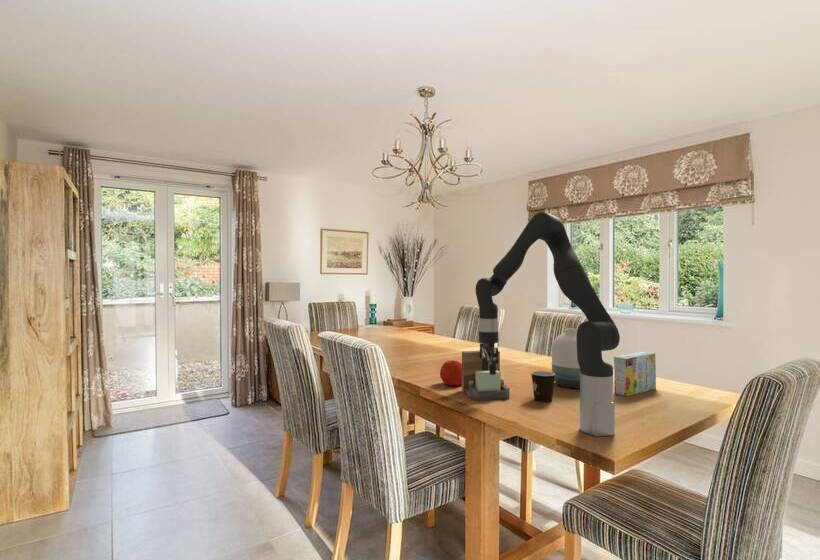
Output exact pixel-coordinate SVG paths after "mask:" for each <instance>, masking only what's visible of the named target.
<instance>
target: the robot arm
mask: <svg viewBox="0 0 820 560" xmlns="http://www.w3.org/2000/svg"><path fill="white" fill-rule="evenodd" d="M538 240H541V241H544V242H545V244H546V245H547V247H548V248H549V251H550V252H551V255H552V257H553V274H554V278H555V281H556V282H557V284H558V287H559V289H560V290H561V293H562V294H563V295H564V296H565V297H566V298H567V299H569V301H571V302H572V303H573V304H574V306H576V307H577V308H578V309H580V311H581V312H582V313H583V314H584V315H585V317H586V319H587V321H583V322H581V323H580V324H579V325H578V328H577V329H578V330H577V336H576V341H577V360H578V364H579V367H580V388H579V430H580V431H581V432H583V433H585V434H588V435H592V436H594V437H605V436H606V437H607V436H615V433H616V432H615V428H616V427H615V425H616V421H615V419H616V418H615V417H616V416H615V415H616V413H615V411H616V410H615V409H616V407H615V403H614V367H613V365H612V364H611V363H608V362H605V361H604V360H603V354H602V352H606V351H607V352H608V351H612V350H615V349H617V347H618V346H619V344H620V342H621V341H620V339H621V338H620V332H619V329H618V327H617V325H616V323H615V321H614V319H612V317H611V315H610V314H609V312H608V311H607V309H606V308H605V307H604V304H603V303H602V302H601V300H600V298H599V296H598V295H597V292H596V290H595V289H594V287H593V285H592V283H591V281H590V279H589V276H588V274H587V273H586V271H585V268H584V267H583V265H582V263H581V261H580V259H579V257H578V255H577V253H576V251H575V250H574V248H573V246H572V244H571V242H570V239H569V236H568V233H567V231H566V228H565V225H564V222H563V221H562V220H561V219H560V218H559V217H557V216H555V215H553V214H550V212H549V213H548V212H545V211H540V212H537V213H536V214H534V215H533V216H532V217H531V219H530V220H529V221H528V223H526V226H524V229H523V230H522V231H521V233H520V234H519V236H518V238H517V239H516V241H515V242H514V244H513V245H512V246H511V247H510V249H509V250H508V252H506V254H505V255H504V256H503V257H502V259H500V261H499V262H498V263H496V265H495V266H494V267H493V269H492V273H493V274H492V275H491V277H483V278H480V279H478V281H477V282H476V284H475V296H476V301H477V305H478V310H479V312H478V313H479V314H478V316H479V317H478V342H479V351H480V358H481V360H482V370H488V361H487V360H489V364H490V374H491V375H495V374H496V364H498V363H499V362H498V351H499V347H498V346H496V347H495V344H497V343H499V339H500V338H499V332H500V331H499V313H498V305H497V303H495V302H494V301H493V297H494V296H497V295H498V294H500V292H502V291H503V289H504V288H505V286H506V285H507V282H508V281H509V280H510V279H511V278H512V277H513V276H514V274H515V273H516V272H518V270H519V269H520V268H521V266H522V264H523V263H524V260H525V258H526V255H527V253H528V251H529V249H530V247H531V246H532V245H533V244H535V242H537V241H538ZM493 360H494V361H493Z"/></svg>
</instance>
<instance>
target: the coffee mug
mask: <svg viewBox="0 0 820 560" xmlns="http://www.w3.org/2000/svg"><path fill="white" fill-rule="evenodd" d="M554 380H555V373H552V371H547V370H534V371H531V381H532V382H531V383H532V390H533V399H534V401H536V402H538V401H539V402H540V403H551V402H552V401H553V395H554V386H555V381H554Z"/></svg>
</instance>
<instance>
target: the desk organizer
mask: <svg viewBox="0 0 820 560" xmlns="http://www.w3.org/2000/svg"><path fill="white" fill-rule="evenodd" d="M500 354H501V353H500V351H499V350H498V362H499V363H498V364H496V370H498V371H500V370H501V369H500V368H501V367H500V366H501V365H500V364H501V363H500V360H501V359H500V357H501V356H500ZM487 361H488V370H482V360H481V358H480V350H469V351H468V350H467V351H466V350H464V351H461V364H462V385H461V391H462V392H463V393H465V394H466V395H467V396H468V397H469V398H471V400H472V401H491V400H509V399H510V387H508V386H507V385H505V379H504V378H501V391H481V392H478V389H476V371H490V364H489V360H487ZM493 361H494V360H493ZM500 372H501V371H500Z"/></svg>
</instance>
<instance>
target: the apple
mask: <svg viewBox="0 0 820 560" xmlns="http://www.w3.org/2000/svg"><path fill="white" fill-rule="evenodd" d="M439 377H440V379H441V381H442V382H443V383H444V384H445V385H447V386H450V387H460V386H462V362H460V361H458V360H447V361H445V362H444V363H443V364H442V366H441V368H440V371H439Z"/></svg>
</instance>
